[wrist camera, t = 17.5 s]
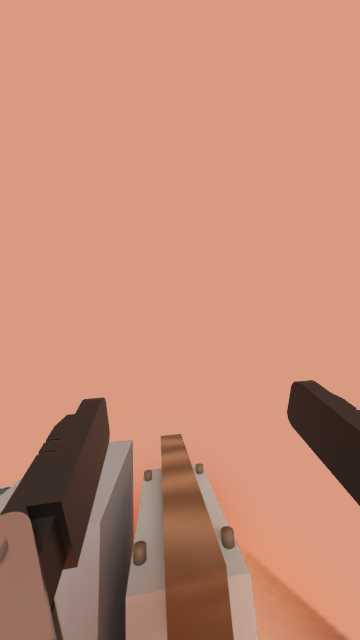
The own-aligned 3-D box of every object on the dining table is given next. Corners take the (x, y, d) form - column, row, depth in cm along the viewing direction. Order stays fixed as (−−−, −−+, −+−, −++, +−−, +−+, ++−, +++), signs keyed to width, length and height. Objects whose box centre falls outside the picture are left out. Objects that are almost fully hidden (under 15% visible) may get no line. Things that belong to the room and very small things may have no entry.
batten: (161, 459, 38) (160, 436, 39) (182, 456, 39) (180, 434, 40) (168, 665, 11) (164, 576, 12) (234, 649, 12) (226, 565, 13)
